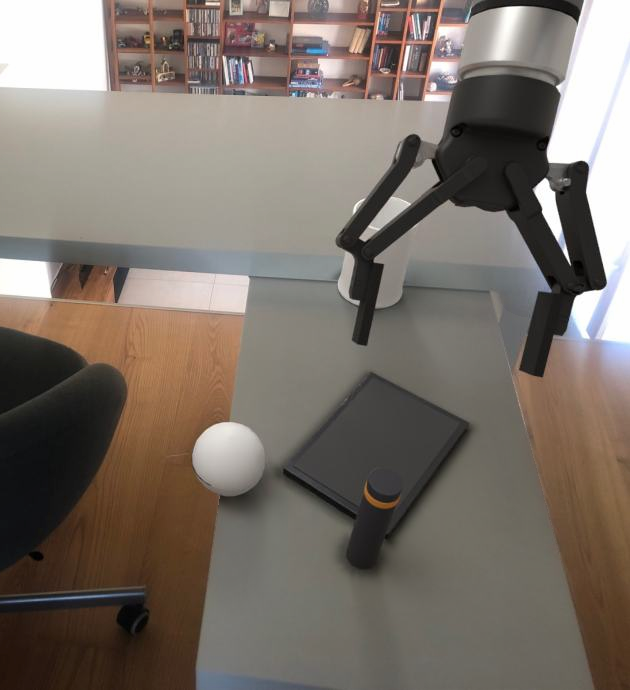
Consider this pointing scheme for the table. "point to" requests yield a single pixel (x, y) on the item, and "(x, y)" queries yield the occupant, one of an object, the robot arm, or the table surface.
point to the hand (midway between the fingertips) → (443, 358)
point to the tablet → (376, 446)
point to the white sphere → (228, 459)
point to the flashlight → (374, 517)
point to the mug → (383, 256)
